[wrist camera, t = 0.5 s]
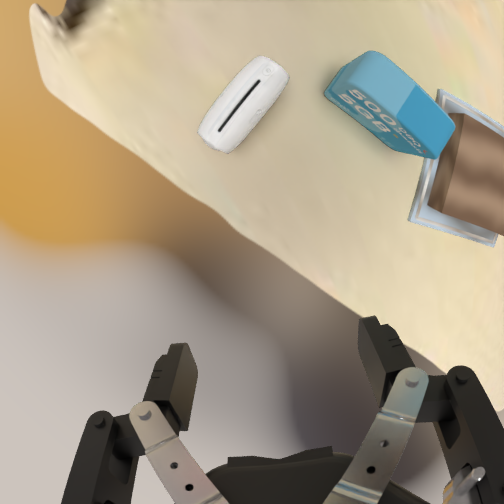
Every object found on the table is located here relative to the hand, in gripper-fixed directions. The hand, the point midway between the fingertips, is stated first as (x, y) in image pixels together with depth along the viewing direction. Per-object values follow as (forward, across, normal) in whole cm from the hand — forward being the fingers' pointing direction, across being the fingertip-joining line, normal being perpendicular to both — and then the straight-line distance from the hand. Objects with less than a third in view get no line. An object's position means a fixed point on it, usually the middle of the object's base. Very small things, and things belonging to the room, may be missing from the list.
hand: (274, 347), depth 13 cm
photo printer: (+28, 0, -11) cm, 30 cm away
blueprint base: (+27, -33, 0) cm, 43 cm away
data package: (+28, -15, -10) cm, 33 cm away
